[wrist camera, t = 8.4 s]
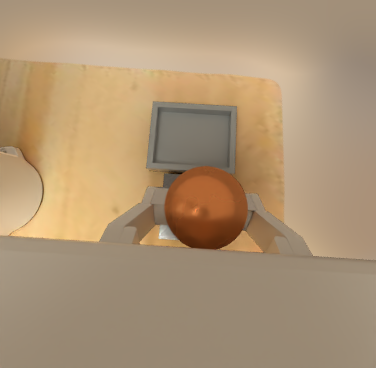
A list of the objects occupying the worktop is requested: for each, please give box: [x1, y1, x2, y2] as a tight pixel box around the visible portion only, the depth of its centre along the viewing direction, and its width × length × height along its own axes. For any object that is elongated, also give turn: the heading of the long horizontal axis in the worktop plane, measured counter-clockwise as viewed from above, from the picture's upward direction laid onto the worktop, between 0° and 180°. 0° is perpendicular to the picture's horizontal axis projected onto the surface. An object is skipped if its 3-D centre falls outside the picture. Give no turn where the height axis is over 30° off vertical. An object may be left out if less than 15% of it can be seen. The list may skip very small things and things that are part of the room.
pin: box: [164, 166, 248, 250], centre depth 13 cm, size 4×4×10 cm
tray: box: [146, 102, 237, 175], centre depth 32 cm, size 16×13×2 cm
